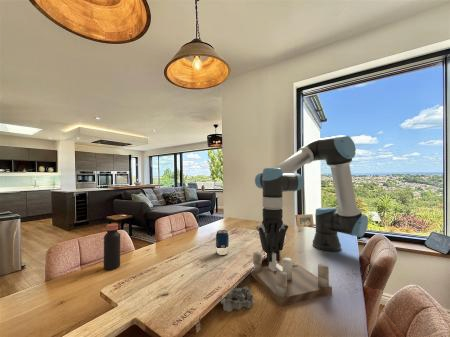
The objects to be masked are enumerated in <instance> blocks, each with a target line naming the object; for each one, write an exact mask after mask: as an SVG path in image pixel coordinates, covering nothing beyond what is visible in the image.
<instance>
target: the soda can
mask: <svg viewBox="0 0 450 337" xmlns="http://www.w3.org/2000/svg"><path fill="white" fill-rule="evenodd" d="M229 239H230V238H229V233H228V231H227V230H223V229H221V230H220V229H219V230H217V231H216V234H215V248H216V247H217V248H226V247H228V246H229V244H230V243H229V242H230V241H229Z"/></svg>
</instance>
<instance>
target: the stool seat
mask: <svg viewBox="0 0 450 337" xmlns="http://www.w3.org/2000/svg"><path fill="white" fill-rule="evenodd" d="M262 254H263V253H262V252H259V251H255V252H253V253H252V265H253V264H254V265H255V269H254V270H253V272H252V273H251V272H250V275H251V277H253V278H254V280H255V281H256V282H257V283H259V285H260V286H261V287H262V288H263V290H265V291H266V293H267V294H268V295H269V296H270V297H271V298H272V300H274V301H275V303H276V304H277V305H278V306H279V307H283V306H286V305H291V304H294V303H300V302H303V301H307V300H312V299H316V298H320V297H324V296H327V295H332V294H333V286H332V285H330V283H329V281H330V275H329V274H330V272H329V270H330V268H329V265H327V264H325V263H318V264H317V276H316V275H315V274H313V273H312V272H310V271H309V270H307V269H306V268H304V267H303V266H301V265H300V264H299V263H298V262H296V261H292V279H291V280H287V273H286V272H283V271H272V270H271V269H269V265H266V266H263V265H262V261H263V260H262V259H263V258H262V256H263V255H262ZM278 264H279V265H280V266H282V267H283V263H278Z"/></svg>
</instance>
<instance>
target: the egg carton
mask: <svg viewBox="0 0 450 337" xmlns="http://www.w3.org/2000/svg"><path fill="white" fill-rule="evenodd" d="M232 289H233V290H232V291H231V292H230V293H229V294H228V295H227V296H226V297H225V298H223V299H222V300H221V299H220V304H221V305H223V311H225V312H228V313H231V312H232V311H233V310H234V309H237V310H238V311H241V310H242V309H243V308H244V307H245V308H247V309H251V308H252V306H253V305H254V301H255V298H254V296H253V294H252V292H251V290H250V289H249V287H248V285H245V286H244V287H239V288H237V287H235V288H232ZM234 298H235V299H236V300H233V299H234Z"/></svg>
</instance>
